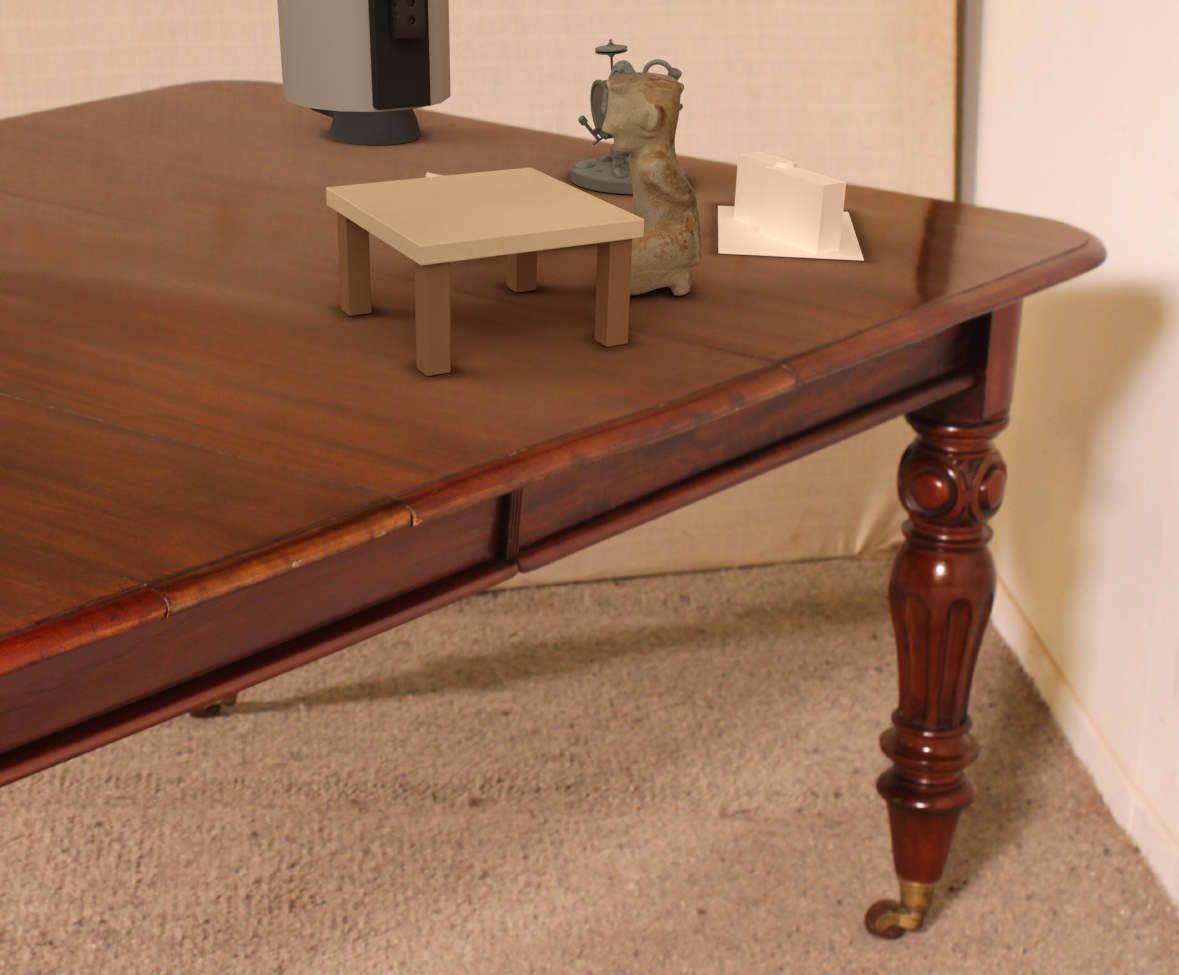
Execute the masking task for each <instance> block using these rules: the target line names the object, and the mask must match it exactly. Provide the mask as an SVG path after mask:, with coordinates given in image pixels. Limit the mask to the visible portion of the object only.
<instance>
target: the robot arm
mask: <svg viewBox="0 0 1179 975" xmlns="http://www.w3.org/2000/svg"><path fill="white" fill-rule="evenodd" d="M368 4H369V27H370V51H371V74H372V97H373V107H374V108H376V109H378V110H385V109H397V108H409V107H421V106H426V107H429V106H430V107H431V106H432V105H431V94H430V57H429V20H428V0H368Z"/></svg>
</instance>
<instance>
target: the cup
mask: <svg viewBox="0 0 1179 975" xmlns="http://www.w3.org/2000/svg"><path fill="white" fill-rule="evenodd" d="M276 3H277V17H278V32H279V48H280V61H281V62H280V64H281V75H282V76H281V77H282V78H281V79H282V91H283V93H282V94H283V96H284V98H285V101H286V103H289V104H294V105H296V106H300V107H304V108H307V109H309V108H314V109H323V110H332V111H350V112H383V111H395V110H408V109H413V110H417V109H421V108H426V107H427V106H421V107H409V108H397V109H385V110H378V109H376V108H374V107H373V97H372V74H371V51H370V27H369V4H368V0H276ZM428 20H429V57H430V94H431V106H435V105H440V104H442V103H443V102H445V101H446V100H448V99H449V98H451V96H452V94H451V50H450V48H451V47H450V46H451V45H450V0H428Z"/></svg>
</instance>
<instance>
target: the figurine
mask: <svg viewBox="0 0 1179 975" xmlns="http://www.w3.org/2000/svg"><path fill="white" fill-rule="evenodd" d="M608 40H609V42H607V44H603V45H599V46H596V47H595V48H594V53H595V54H596V55H600V56H608V57H609V58H610V59H609V60H610V74H609V76H608V78H609V77H610V76H612V75H615V74H619V73H634V72H636V69H635V68H634V67H633V64H631V62H630V61H628V60H625V59H622V60H618V61H617V62H615V63H614V57H615V56H616V55H621V54H624V53H627V52H628V46H627V45H625V44H615V43H614V42H613V39H612V38H610V39H609V38H608ZM656 65H659V66H662V67H664V68H665V69H666V71H668V72H667V74H666V75H667V76H671V77H673V78H675V79H676V80H677V81H678V80H679V79H680V78H681V77H682V74H683V72H682V71H681V70H680V69H679V68H677V67H672V65H671V64H670V63H669V62H668V61H666V60H663V59H661V58H655V59H652V60H650V61H648V62H647V63H646V64H645V65H644V66H643V69H642V72H646V73H649V70H650V68H652V67H654V66H656ZM608 78H607V79H603V80H602V79H595V80H594V81H593V82H592V84H591V88H590V95H589V96H590V97H589V99H590V112H591V118H592V122H593V126H594V128H592V127H591V126H590V125H589V123H588V122H589V120H588V118H586V116H585V115H580V116H579V117H578V118H577V121H578V123H579V124H580V125H581V126H584V127H585V128H586V129H587V130H588V132H589V133H590V134H591V135H592V136H593V138H594V139H595V141H594V142H592V145H593V146H595V145H596V144H598V143H599V142H600V141H602V140H605V141H607V140H609V139H613V136H612V135H610V134H608V133H605V132H603V130H602V126H603V123H604V120H605V117H606V114H607V106H608V95H609V91H608V87H607V85H606V84H607V80H608ZM683 109H684V105H683V103H680V111H682V110H683ZM609 149H610V152H611V155H609V154H603V155H601V156H599V157H591V158H585V159H580V160H578V161H576V162H574V163H572V164H571V165H570V167H569V180H570V182H571V183H572V184H574V185H576V186H578V187H580V188H583V189H587V190H589V191H590V190H591V191H593V192H601V193H607V194H621V195H633V191H632V183H631V176H630V165H629V154H628V153H620V152H617V151H616V150H615V147H614V143H612V144H611V145H610V148H609ZM679 167H680V169H681V171H682V172H683V174H684V175H685V177H686V179H687V180H688V170H687V168H685V167H684V166H682V165H681V164H679Z"/></svg>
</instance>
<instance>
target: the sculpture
mask: <svg viewBox="0 0 1179 975" xmlns="http://www.w3.org/2000/svg"><path fill="white" fill-rule="evenodd" d="M667 75H668V74H663V73H657V72H648V73H646V72H643V71H640V72H639V71H635V72H634V73H619V74H615V75H612V76H610V75H609V76H610V77H609V76H608V77H609V78H607V79H606V80H607V84H606V85H607V87H608V91H609V95H608V106H607V114H606V117H605V120H604V123H603V126H602V130H603V132H605V133H608V134H610V135H612V136H613V138H612V139H613V144H614V147H615V150H616V151H617V152H620V153H628V154H629V165H630V176H631V183H632V191H633V194H632V200H633V210H634V215H636V216H638V217H641V218H643V219H644V234H643V237H642V238H635V239H632V258H631V281H630V296H637V295H643V294H647V293H649V292H651V291H655V290H657V289H662V288H668V289H669V290H670V292H671V293H672V294H673V295H674V296H676V297H677V296H678V297H680V296H684V295H686V294H688V293H689V292H690V290H691V286H692V269H693V267H695V266H697V265H698V264H699V263H700V262H701V261H702V251H701V250H702V235H701V225H700V213H699V207H698V200H697V195H696V193H695V190H694V188H693V187H692V184H691V183H690V181H689V180H688V178H687V179H686V177H685V175H684V174H683V172H682V171H681V169H680V167H679V165H680V164H679V162H678V159H677V153H676V134H677V128H678V122H679V117H680V111H681V110H680V104H681V96H682V93H683V92H684V89H685V85H684V84H683V83H682V82H680V81H678V80H676V79H675V78H673V77H671V76H667ZM595 264H596V267H595V268H596V269H597V263H595Z"/></svg>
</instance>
